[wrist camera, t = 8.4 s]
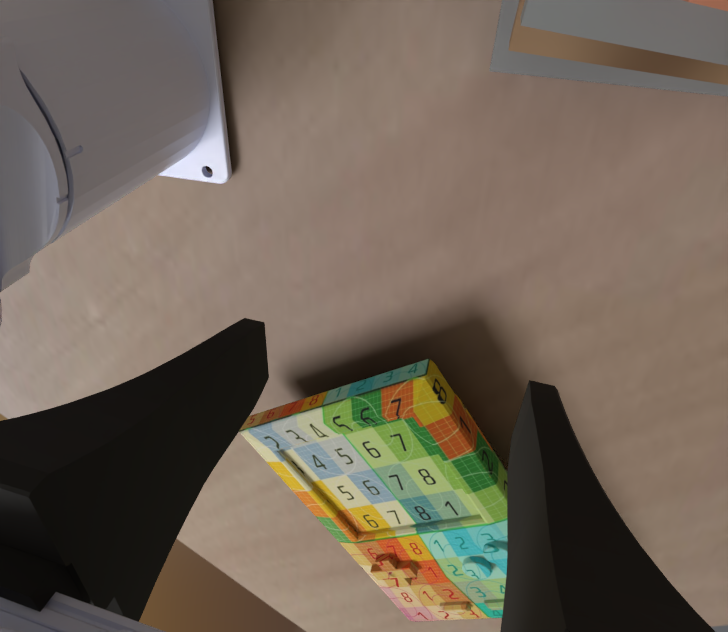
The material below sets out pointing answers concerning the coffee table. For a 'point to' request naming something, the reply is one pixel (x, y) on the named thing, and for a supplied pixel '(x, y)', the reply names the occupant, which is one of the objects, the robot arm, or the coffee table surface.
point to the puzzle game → (399, 487)
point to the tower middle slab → (610, 54)
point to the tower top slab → (637, 24)
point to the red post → (711, 3)
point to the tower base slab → (581, 65)
